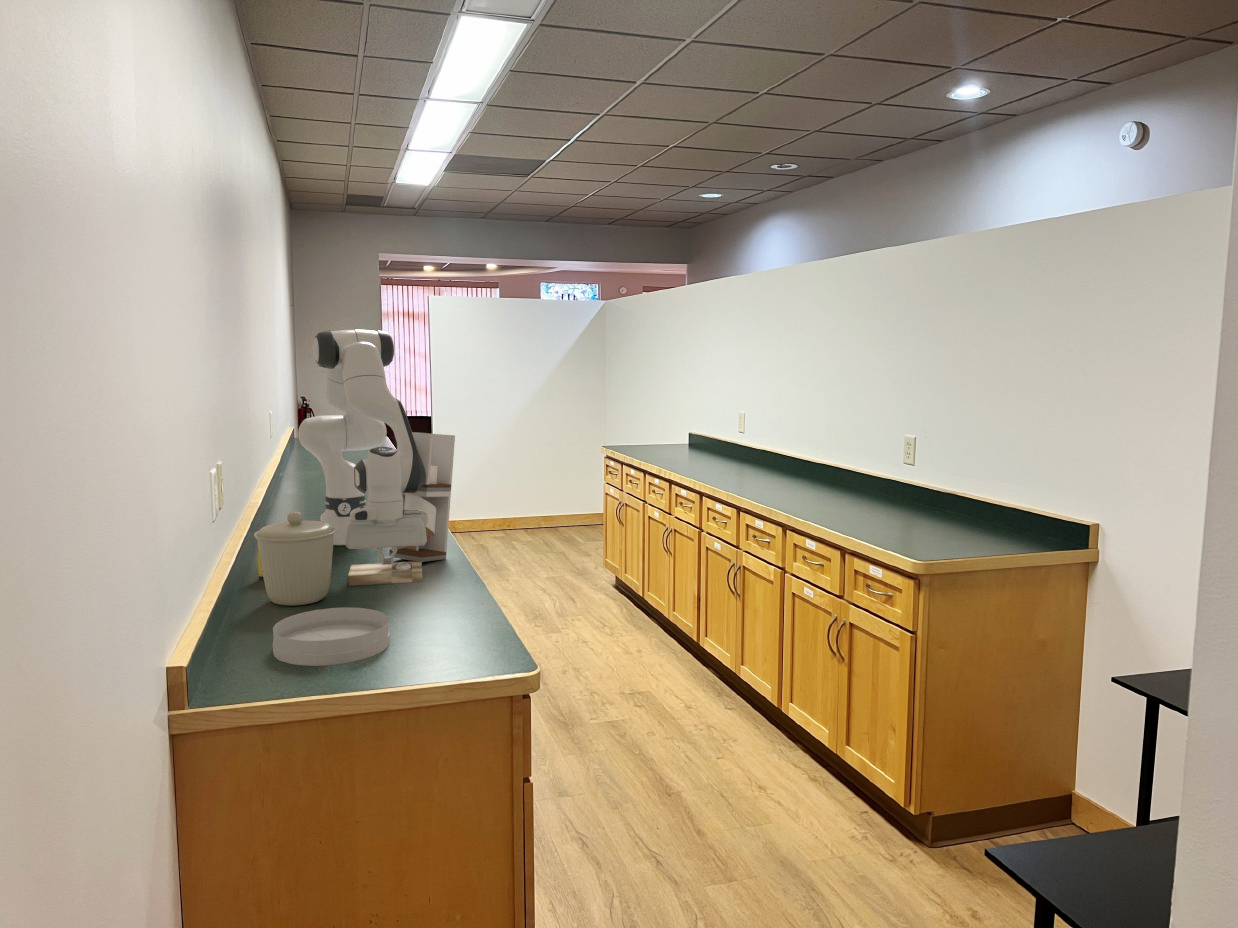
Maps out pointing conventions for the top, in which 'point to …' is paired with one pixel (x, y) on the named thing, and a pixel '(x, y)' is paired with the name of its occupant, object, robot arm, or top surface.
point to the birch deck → (384, 574)
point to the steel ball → (403, 566)
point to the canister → (296, 559)
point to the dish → (331, 636)
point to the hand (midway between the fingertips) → (387, 563)
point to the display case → (431, 496)
